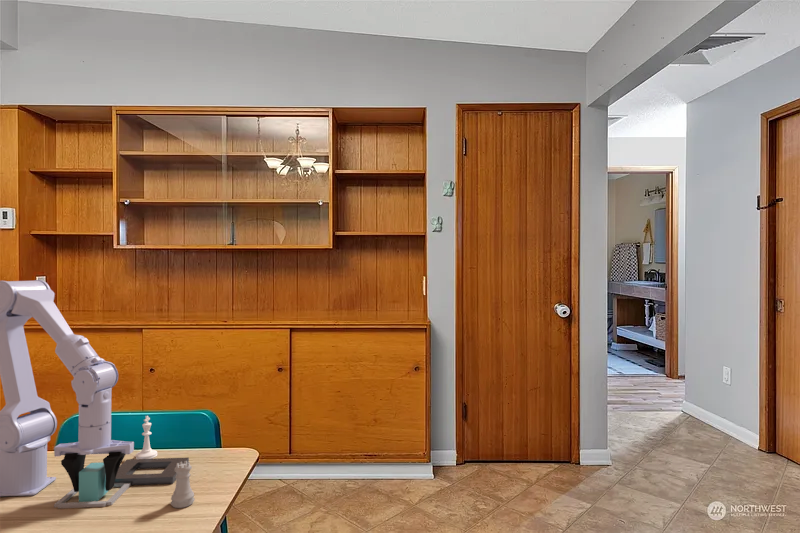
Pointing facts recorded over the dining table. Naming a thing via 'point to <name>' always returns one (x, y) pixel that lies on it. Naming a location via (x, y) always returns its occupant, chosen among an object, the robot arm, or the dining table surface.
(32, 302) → the robot arm
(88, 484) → the plug
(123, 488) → the open picture frame
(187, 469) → the rook chess piece
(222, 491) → the dining table surface
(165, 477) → the port block
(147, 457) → the chess piece
